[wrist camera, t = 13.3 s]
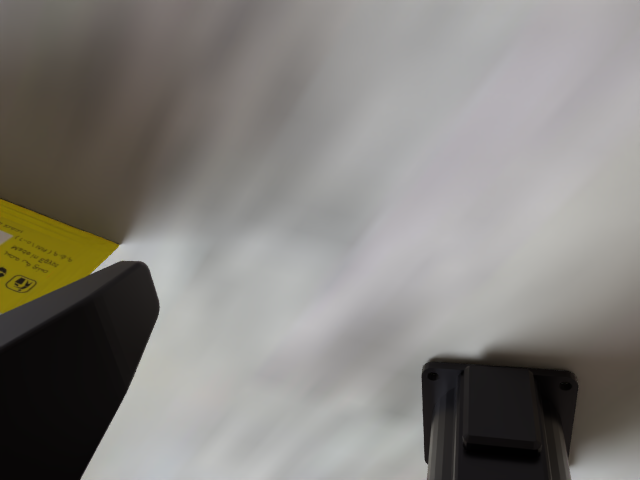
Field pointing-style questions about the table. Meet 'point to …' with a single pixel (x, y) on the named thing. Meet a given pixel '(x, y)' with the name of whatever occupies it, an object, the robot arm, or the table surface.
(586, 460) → the table surface
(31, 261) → the food package
